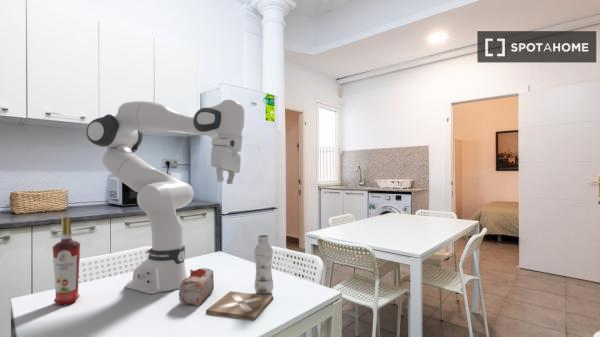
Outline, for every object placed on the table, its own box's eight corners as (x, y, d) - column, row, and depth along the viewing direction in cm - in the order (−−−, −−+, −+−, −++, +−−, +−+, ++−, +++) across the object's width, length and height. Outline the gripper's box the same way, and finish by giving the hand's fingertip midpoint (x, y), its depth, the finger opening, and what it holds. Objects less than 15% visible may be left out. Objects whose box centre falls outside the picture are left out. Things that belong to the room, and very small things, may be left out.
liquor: (50, 308, 100) (49, 220, 100) (56, 300, 106) (55, 216, 106) (78, 304, 103) (77, 218, 103) (82, 296, 109) (81, 215, 109)
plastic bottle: (270, 297, 107) (270, 238, 107) (251, 295, 109) (251, 237, 109) (275, 290, 114) (275, 234, 114) (257, 288, 115) (257, 233, 115)
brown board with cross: (206, 313, 96) (206, 309, 96) (230, 294, 110) (230, 291, 110) (254, 319, 91) (254, 316, 91) (273, 299, 106) (273, 295, 106)
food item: (201, 307, 100) (201, 276, 100) (176, 307, 100) (176, 276, 100) (216, 290, 114) (215, 263, 114) (194, 290, 114) (194, 263, 114)
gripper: (230, 149, 125) (226, 184, 123) (209, 138, 105) (204, 180, 103) (246, 150, 124) (242, 185, 122) (227, 139, 104) (223, 181, 102)
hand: (224, 183), depth 113 cm, fingers open, 8 cm apart
